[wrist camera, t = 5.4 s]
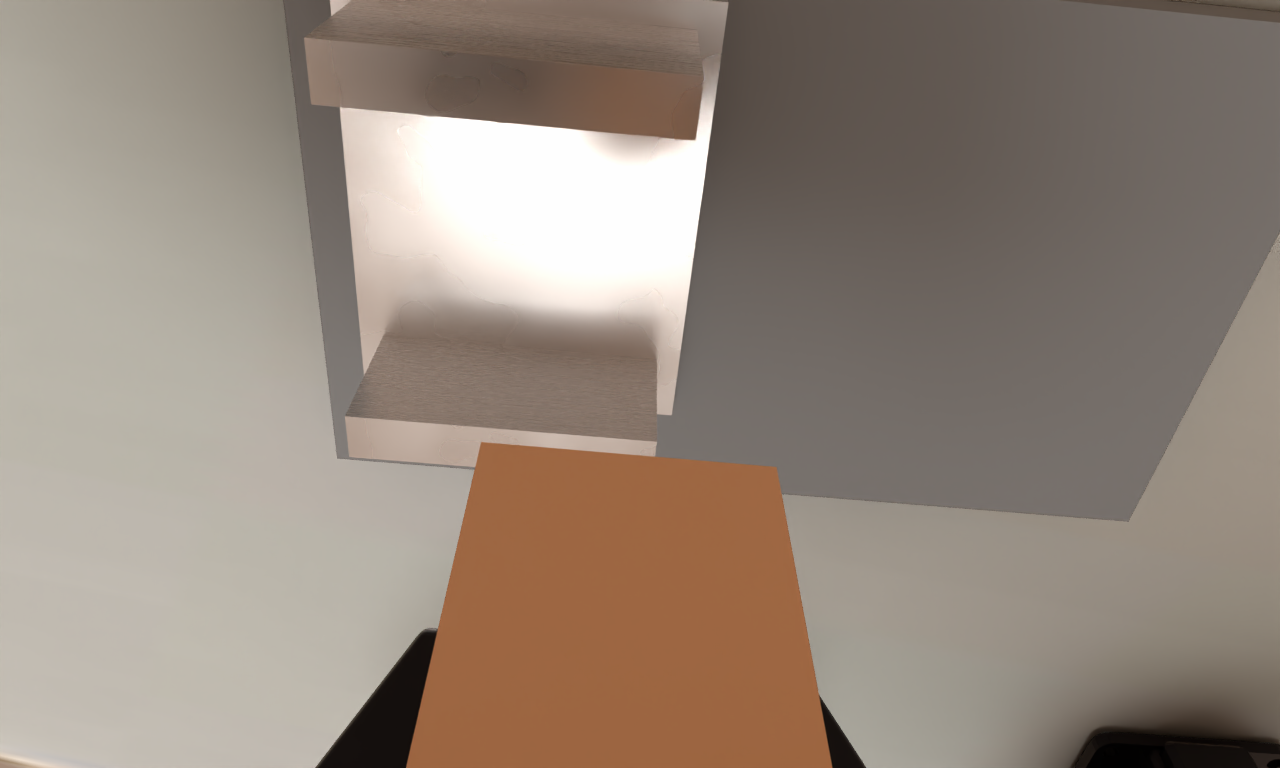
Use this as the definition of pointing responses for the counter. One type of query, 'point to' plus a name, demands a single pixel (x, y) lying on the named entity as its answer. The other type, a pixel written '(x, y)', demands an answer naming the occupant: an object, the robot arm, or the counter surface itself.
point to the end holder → (519, 214)
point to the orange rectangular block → (620, 620)
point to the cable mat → (939, 243)
